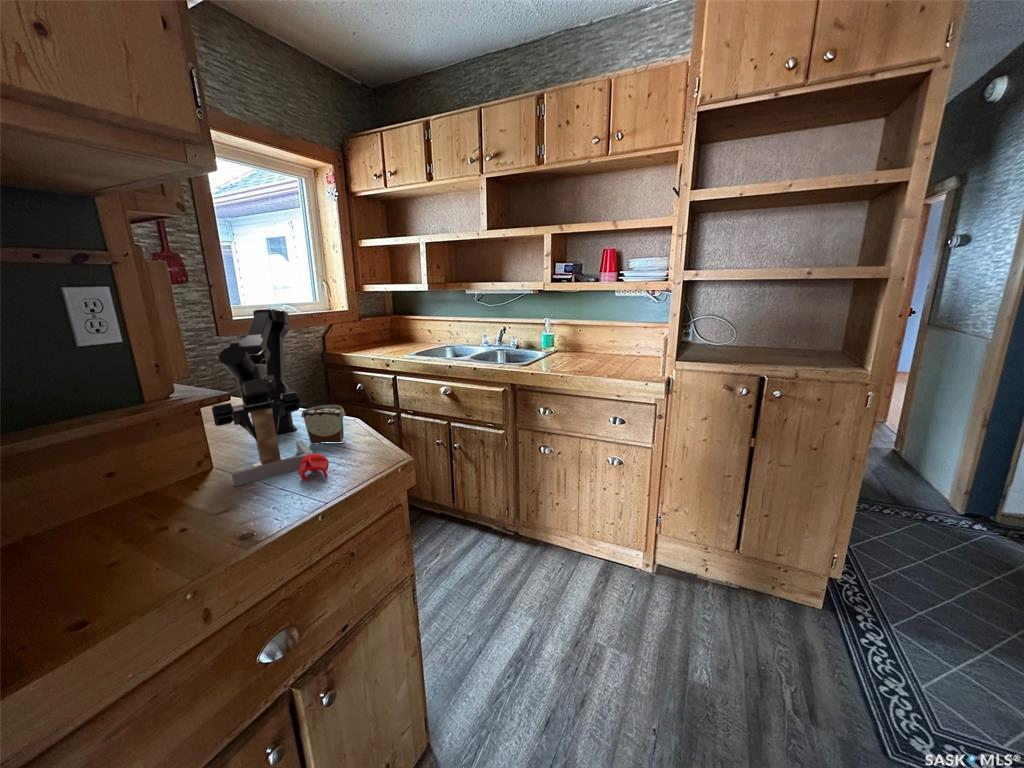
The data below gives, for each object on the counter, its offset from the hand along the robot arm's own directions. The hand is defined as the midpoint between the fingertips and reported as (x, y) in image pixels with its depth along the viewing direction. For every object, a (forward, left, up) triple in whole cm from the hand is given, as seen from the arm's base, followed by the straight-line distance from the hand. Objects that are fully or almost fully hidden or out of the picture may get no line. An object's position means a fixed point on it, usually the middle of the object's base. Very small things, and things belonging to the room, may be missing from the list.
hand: (266, 436), depth 100 cm
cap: (+13, +7, -9) cm, 17 cm away
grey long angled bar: (-1, 0, -9) cm, 9 cm away
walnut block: (-1, 0, -7) cm, 7 cm away
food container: (-10, +17, -9) cm, 22 cm away
